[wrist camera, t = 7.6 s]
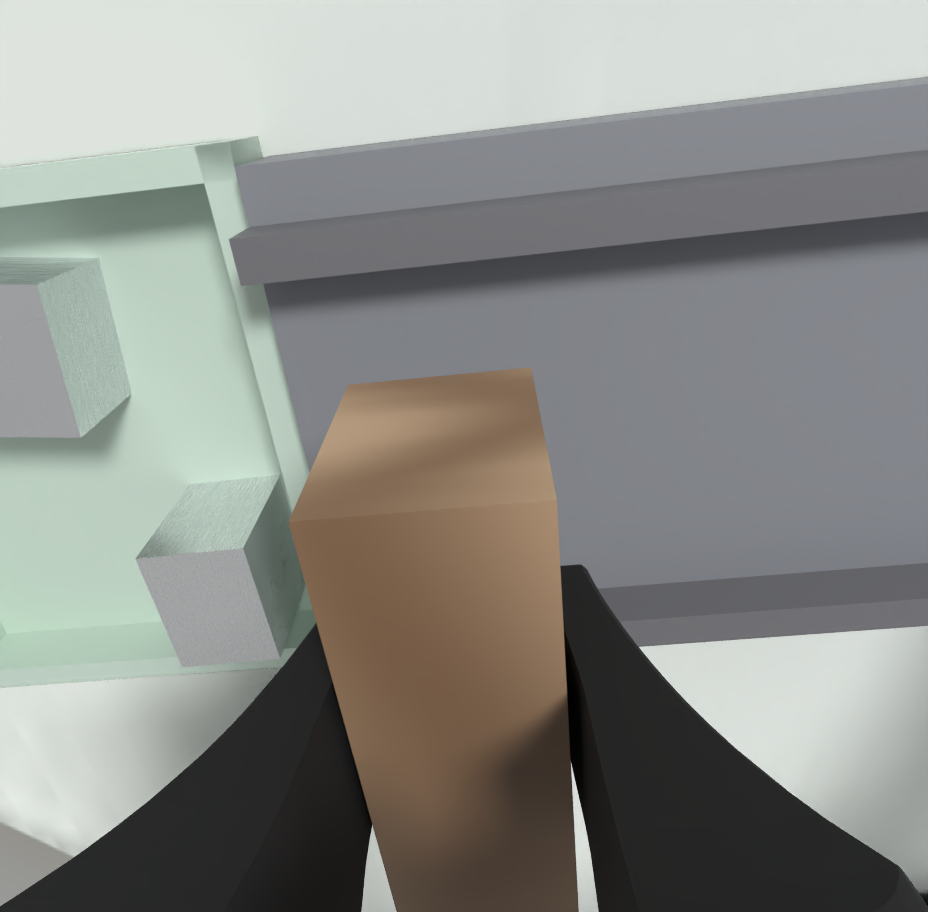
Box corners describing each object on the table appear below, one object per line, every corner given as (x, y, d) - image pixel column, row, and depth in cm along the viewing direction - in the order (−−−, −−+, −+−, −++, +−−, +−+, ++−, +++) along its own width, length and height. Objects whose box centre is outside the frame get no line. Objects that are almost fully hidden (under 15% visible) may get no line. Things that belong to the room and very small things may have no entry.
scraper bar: (531, 367, 11) (556, 499, 7) (556, 744, 15) (580, 942, 12) (348, 385, 11) (288, 522, 8) (423, 752, 15) (407, 950, 12)
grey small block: (-133, 283, 16) (-47, 256, 19) (-71, 436, 18) (-1, 392, 20) (36, 284, 16) (99, 257, 19) (81, 437, 18) (131, 393, 20)
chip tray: (257, 136, 18) (228, 141, 15) (366, 613, 25) (356, 661, 23) (-246, 197, 18) (-340, 211, 16) (3, 641, 26) (-39, 690, 24)
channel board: (1071, 59, 17) (1260, 47, 13) (938, 557, 24) (1032, 651, 20) (269, 156, 18) (211, 173, 14) (369, 602, 25) (349, 699, 21)
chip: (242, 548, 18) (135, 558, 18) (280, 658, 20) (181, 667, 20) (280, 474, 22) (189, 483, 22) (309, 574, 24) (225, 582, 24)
